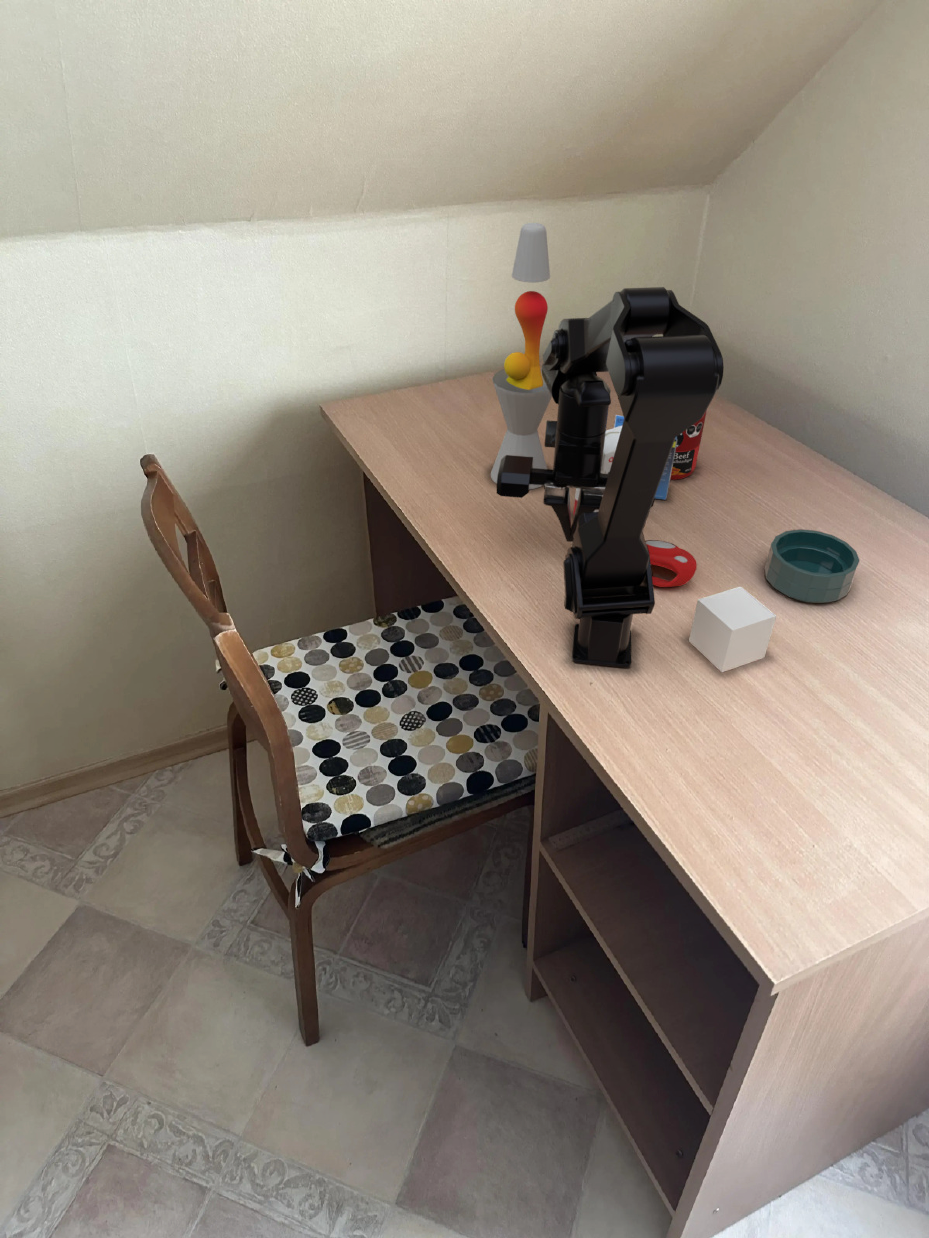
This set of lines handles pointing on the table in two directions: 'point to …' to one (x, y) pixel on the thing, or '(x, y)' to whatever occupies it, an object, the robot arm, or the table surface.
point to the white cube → (731, 628)
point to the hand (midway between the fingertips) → (569, 540)
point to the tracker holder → (671, 562)
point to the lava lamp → (525, 357)
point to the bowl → (811, 566)
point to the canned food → (687, 450)
